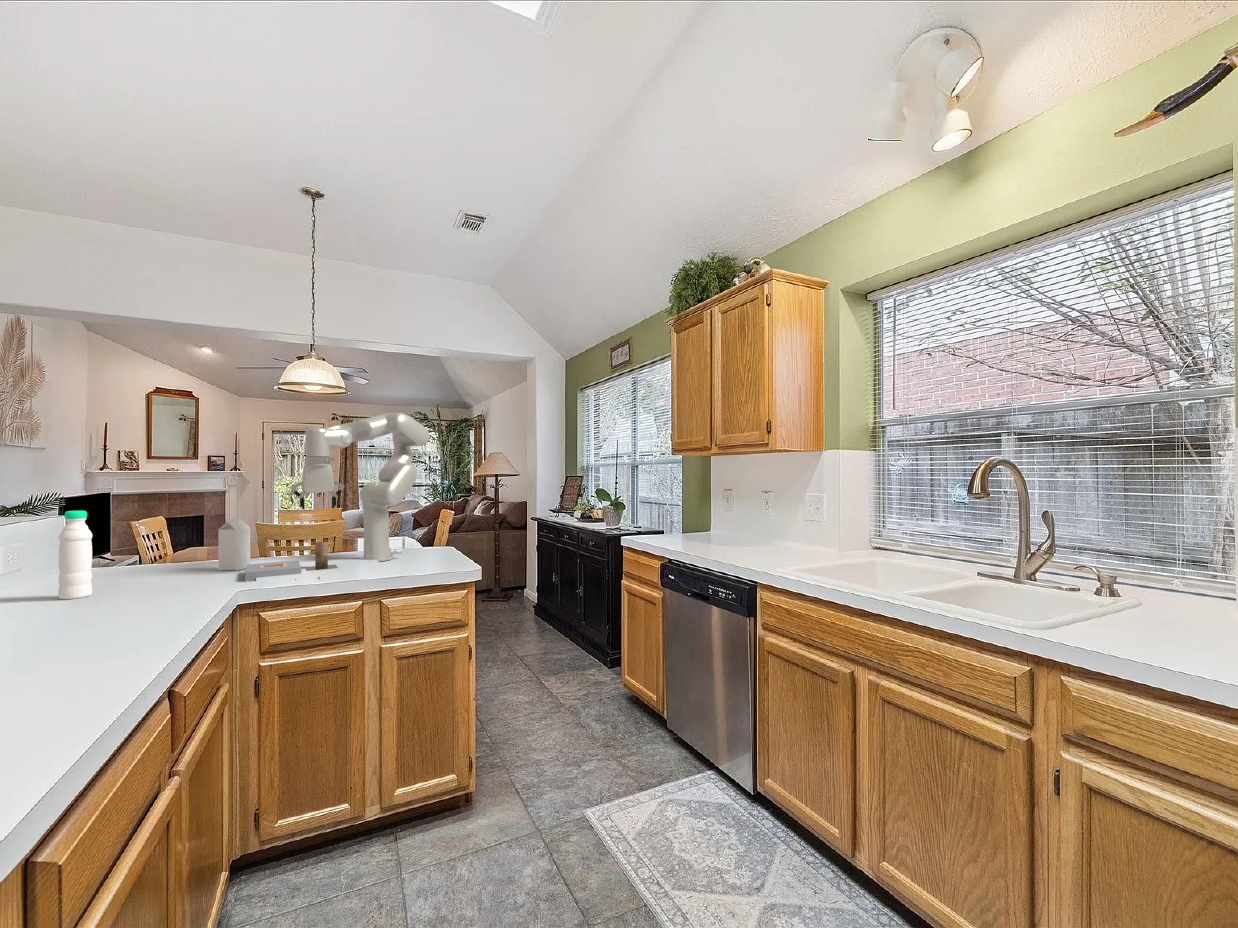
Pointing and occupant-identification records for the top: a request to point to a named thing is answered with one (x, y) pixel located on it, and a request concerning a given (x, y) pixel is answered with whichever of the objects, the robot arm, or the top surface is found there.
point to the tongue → (320, 568)
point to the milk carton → (233, 545)
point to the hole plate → (271, 569)
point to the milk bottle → (75, 557)
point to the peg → (321, 555)
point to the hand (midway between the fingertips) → (318, 508)
